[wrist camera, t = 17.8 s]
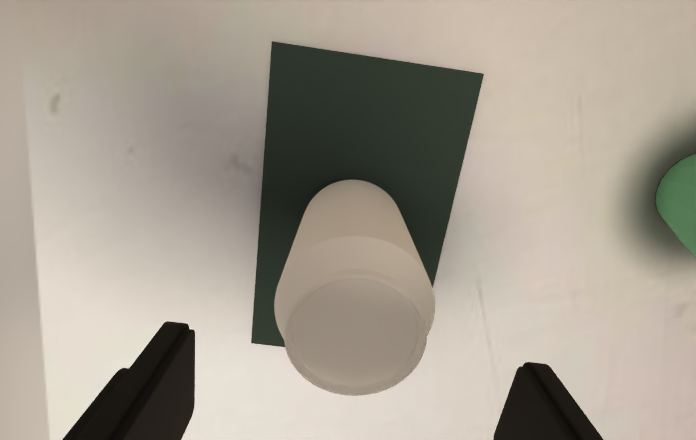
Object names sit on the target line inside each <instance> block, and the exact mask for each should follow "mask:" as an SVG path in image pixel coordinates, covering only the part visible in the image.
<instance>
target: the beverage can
mask: <svg viewBox="0 0 696 440" xmlns="http://www.w3.org/2000/svg"><path fill="white" fill-rule="evenodd" d="M274 311H275V318H276V322H277V326H278V329H279V331H280V333H281V335H282V337H283V339H284V342H285V347H286V351H287V354H288V356H289V359H290V361H291V362H292V364H293V365H294V367H295V368H296V369H297V371H298V372H299V373H300V374H301V375H302V376H303V377H304V378H305V379H307V380H308V381H309V382H311V383H312V384H314V385H316V386H317V387H319V388H322V389H324V390H326V391H329V392H333V393H337V394H342V395H352V396H358V395H368V394H374V393H377V392H381V391H384V390H386V389H389V388H391V387H393V386H394V385H396V384H398V383H399V382H401V381H402V380H404V379H405V378H406V377H407V376H408V375H409V374H410V373H411V372H412V371H413V370H414V369H415V367H416V366H417V365H418V363H419V361H420V360H421V358H422V355H423V353H424V350H425V346H426V340H427V335H428V333H429V331H430V329H431V326H432V323H433V319H434V313H435V298H434V292H433V288H432V285H431V282H430V280H429V277H428V275H427V273H426V270H425V268H424V266H423V263H422V261H421V259H420V257H419V254H418V252H417V250H416V247H415V245H414V243H413V240H412V238H411V236H410V233H409V231H408V229H407V227H406V224H405V222H404V220H403V217H402V215H401V213H400V211H399V209H398V207H397V205H396V203H395V202H394V200H393V199H392V198H391V197H390V196H389V195H388V194H387V193H386V192H385V191H384V190H383V189H381V188H380V187H378V186H376V185H374V184H372V183H369V182H366V181H362V180H343V181H338V182H335V183H333V184H330V185H328V186H327V187H325V188H323V189H322V190H321V191H320V192H318V193H317V194H316V195H315V196H314V197H313V199H312V200H311V201H310V203H309V204H308V206H307V208H306V210H305V213H304V215H303V218H302V220H301V223H300V226H299V228H298V231H297V234H296V237H295V239H294V242H293V245H292V248H291V250H290V253H289V256H288V258H287V261H286V264H285V267H284V269H283V272H282V275H281V278H280V281H279V283H278V286H277V290H276V294H275V301H274Z"/></svg>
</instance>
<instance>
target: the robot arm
mask: <svg viewBox="0 0 696 440" xmlns="http://www.w3.org/2000/svg"><path fill="white" fill-rule="evenodd" d="M194 391H195V332H194V330H190V329H189V326H188V324H185V323H176V322H165V323H164V324H163V325H162V327H161V328H160V329H159V331H158V332H157V333H156V334H155V336H154V337H153V338H152V340H151V341H150V342H149V344H148V345H147V346H146V347H145V349H144V350H143V351H142V353H141V354H140V355H139V357H138V358H137V359H136V361H135V362H134V363H133V364H132V366H131V367H130V368H129V369H127V368H122V369H120V370H119V371H118V372H117V373H116V374H115V375H114V376H113V377H112V379H111V380H110V381H109V382H108V384H107V385H106V386H105V387H104V388H103V390H102V391H101V392H100V393H99V395H98V396H97V397H96V398H95V400H94V401H93V402H92V403H91V405H90V406H89V407H88V408H87V410H86V411H85V412H84V413H83V415H82V416H81V417H80V418H79V420H78V421H77V422H76V423H75V425H74V426H73V427H72V428H71V430H70V431H69V432H68V433H67V435H66V436H65V437H64V438H63V440H181V439H182V436H183V434H184V432H185V430H186V428H187V426H188V424H189V421H190V419H191V417H192V414H193V410H194ZM494 440H603V438H602V437H601V436H600V434H599V433H598V432H597V430H596V429H595V427H594V426H593V425H592V423H591V422H590V421H589V419H588V418H587V417H586V415H585V414H584V412H583V411H582V410H581V408H580V407H579V406H578V404H577V403H576V402H575V400H574V399H573V397H572V396H571V395H570V393H569V392H568V391H567V389H566V388H565V387H564V385H563V384H562V382H561V381H560V380H559V378H558V377H557V376H556V374H555V373H554V372H553V370H552V369H551V368H550V367H549V366H548V365H546V364H540V363H531V362H526V363H525V364H524V365H523V367H519V368H518V369H517V372H516V375H515V377H514V380H513V383H512V386H511V389H510V391H509V394H508V397H507V400H506V403H505V405H504V408H503V411H502V414H501V417H500V419H499V422H498V425H497V428H496V431H495V433H494Z"/></svg>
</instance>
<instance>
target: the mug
mask: <svg viewBox="0 0 696 440" xmlns="http://www.w3.org/2000/svg"><path fill="white" fill-rule="evenodd" d="M655 203H656V206H657V210H658V213H659V214H660V215H661V217H662V218H663V219H664V221H665V222H666V223H667V224H668V226H669V227H670V228H671V229H672V231H673V232H674V233H675V235H676V236H677V237H678V238H679V240H680V241H681V242H682V243H683V245H684V246H685V247H686V248H687V249H688V250H689V251H690V252H691V253H692V254H693V255H694V256H695V257H696V154H693V155H691V156H689V157H686V158H684V159H682V160H680V161H679V162H678V163H676V164H675V165H674V166H673V167H671V168H670V169H669V170H668V172H667V173H666V174H665V176H664V177H663V178H662V179H661V182H660V184H659V186H658V189H657V192H656V201H655Z"/></svg>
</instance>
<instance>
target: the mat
mask: <svg viewBox="0 0 696 440" xmlns="http://www.w3.org/2000/svg"><path fill="white" fill-rule="evenodd" d="M483 75H484V74H481V73H474V72H468V71H461V70H455V69H448V68H442V67H435V66H429V65H422V64H415V63H409V62H402V61H396V60H389V59H383V58H376V57H370V56H363V55H357V54H350V53H344V52H337V51H331V50H324V49H317V48H311V47H304V46H298V45H291V44H285V43H278V42H272V50H271V65H270V79H269V94H268V108H267V123H266V138H265V152H264V167H263V181H262V196H261V210H260V225H259V240H258V254H257V269H256V283H255V298H254V312H253V327H252V342H251V343H255V344H264V345H272V346H281V347H285V342H284V339H283V337H282V335H281V333H280V331H279V329H278V326H277V322H276V318H275V311H274V301H275V294H276V290H277V286H278V283H279V281H280V278H281V275H282V272H283V269H284V267H285V264H286V261H287V258H288V256H289V253H290V250H291V248H292V245H293V242H294V239H295V237H296V234H297V231H298V228H299V226H300V223H301V220H302V218H303V215H304V213H305V210H306V208H307V206H308V204H309V203H310V201H311V200H312V199H313V197H314V196H315V195H316V194H317V193H318V192H320V191H321V190H322V189H323V188H325V187H327V186H328V185H330V184H333V183H335V182H338V181H343V180H362V181H366V182H369V183H372V184H374V185H376V186H378V187H380V188H381V189H383V190H384V191H385V192H386V193H387V194H388V195H389V196H390V197H391V198H392V199H393V200H394V202H395V203H396V205H397V207H398V209H399V211H400V213H401V215H402V217H403V220H404V222H405V224H406V227H407V229H408V231H409V233H410V236H411V238H412V240H413V243H414V245H415V247H416V250H417V252H418V254H419V257H420V259H421V261H422V263H423V266H424V268H425V270H426V273H427V275H428V277H429V280H430V282H431V285H432V288H433V284H434V279H435V275H436V271H437V267H438V263H439V259H440V254H441V250H442V246H443V242H444V238H445V234H446V229H447V225H448V221H449V217H450V213H451V209H452V204H453V200H454V196H455V192H456V188H457V184H458V179H459V175H460V171H461V167H462V163H463V159H464V154H465V150H466V146H467V142H468V138H469V134H470V129H471V125H472V121H473V117H474V113H475V109H476V104H477V100H478V96H479V92H480V88H481V84H482V79H483Z"/></svg>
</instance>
